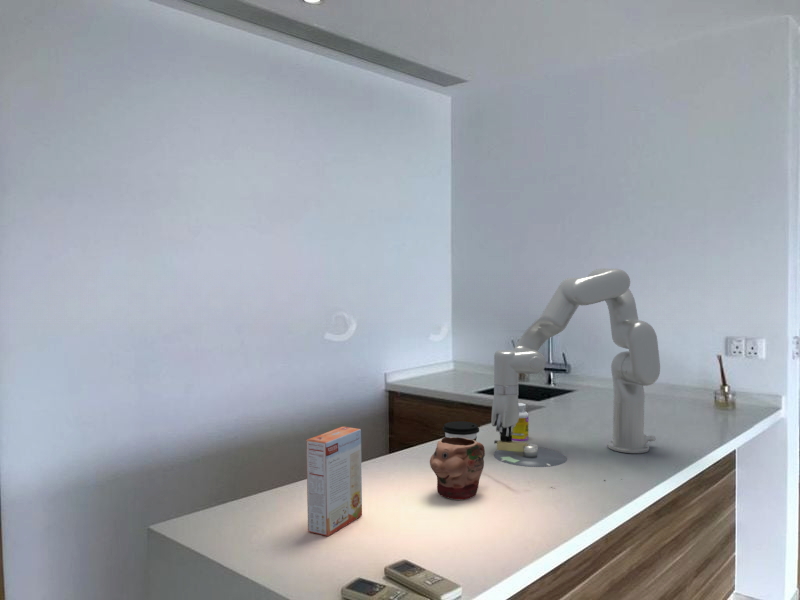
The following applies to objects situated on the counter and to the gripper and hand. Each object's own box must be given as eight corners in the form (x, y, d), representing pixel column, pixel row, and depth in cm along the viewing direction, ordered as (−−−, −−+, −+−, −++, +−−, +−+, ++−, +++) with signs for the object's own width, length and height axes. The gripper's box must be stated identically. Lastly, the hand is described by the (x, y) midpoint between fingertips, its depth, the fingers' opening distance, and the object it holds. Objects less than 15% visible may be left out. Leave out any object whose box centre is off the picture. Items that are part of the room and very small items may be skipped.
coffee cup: (482, 461, 197) (482, 422, 197) (474, 472, 187) (475, 430, 186) (447, 458, 201) (447, 419, 200) (438, 468, 191) (438, 427, 190)
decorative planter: (461, 478, 181) (462, 429, 180) (500, 487, 173) (500, 436, 173) (418, 497, 166) (418, 443, 165) (458, 509, 158) (458, 452, 157)
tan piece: (538, 454, 200) (538, 442, 200) (536, 457, 196) (536, 446, 196) (495, 450, 204) (495, 438, 204) (493, 454, 200) (493, 442, 200)
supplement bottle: (528, 444, 217) (528, 406, 216) (507, 443, 218) (508, 405, 217) (528, 439, 223) (528, 402, 223) (508, 438, 224) (509, 401, 224)
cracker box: (341, 511, 156) (341, 425, 155) (363, 516, 153) (363, 428, 152) (305, 532, 144) (305, 438, 143) (327, 537, 141) (327, 441, 140)
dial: (540, 447, 213) (540, 443, 213) (582, 466, 193) (582, 461, 193) (480, 454, 205) (480, 449, 205) (517, 474, 185) (517, 469, 185)
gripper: (506, 385, 212) (506, 441, 212) (483, 392, 200) (483, 451, 201) (528, 387, 207) (527, 444, 208) (505, 394, 195) (505, 455, 196)
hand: (506, 447), depth 204 cm, fingers closed
